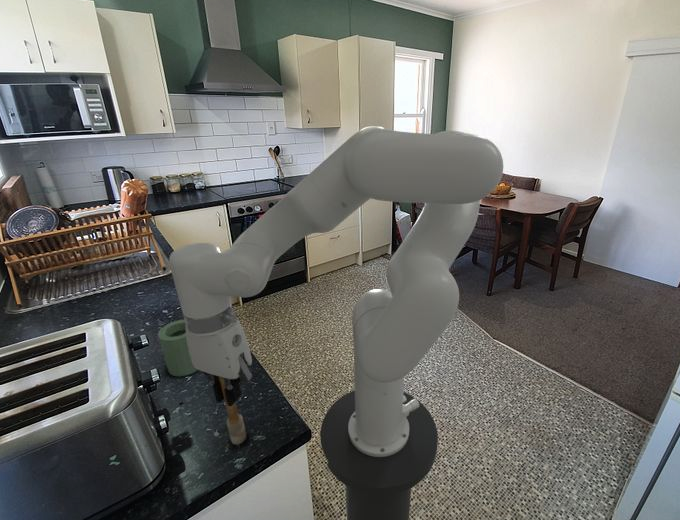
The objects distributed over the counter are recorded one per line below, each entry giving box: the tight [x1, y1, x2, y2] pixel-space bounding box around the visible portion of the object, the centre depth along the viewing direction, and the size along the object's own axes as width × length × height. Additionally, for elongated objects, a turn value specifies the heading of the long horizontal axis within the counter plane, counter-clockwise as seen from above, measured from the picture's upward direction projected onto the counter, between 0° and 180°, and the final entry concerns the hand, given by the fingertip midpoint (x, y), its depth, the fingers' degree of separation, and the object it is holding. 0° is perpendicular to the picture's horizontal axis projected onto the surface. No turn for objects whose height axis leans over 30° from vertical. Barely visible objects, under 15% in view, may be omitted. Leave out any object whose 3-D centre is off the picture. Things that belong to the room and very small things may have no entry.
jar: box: [157, 319, 199, 377], centre depth 88 cm, size 9×9×11 cm
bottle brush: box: [219, 376, 247, 445], centre depth 66 cm, size 3×3×16 cm
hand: (229, 398), depth 65 cm, fingers closed on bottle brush
